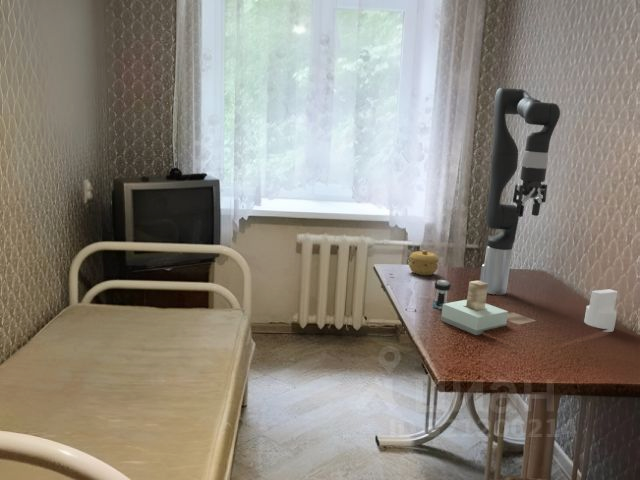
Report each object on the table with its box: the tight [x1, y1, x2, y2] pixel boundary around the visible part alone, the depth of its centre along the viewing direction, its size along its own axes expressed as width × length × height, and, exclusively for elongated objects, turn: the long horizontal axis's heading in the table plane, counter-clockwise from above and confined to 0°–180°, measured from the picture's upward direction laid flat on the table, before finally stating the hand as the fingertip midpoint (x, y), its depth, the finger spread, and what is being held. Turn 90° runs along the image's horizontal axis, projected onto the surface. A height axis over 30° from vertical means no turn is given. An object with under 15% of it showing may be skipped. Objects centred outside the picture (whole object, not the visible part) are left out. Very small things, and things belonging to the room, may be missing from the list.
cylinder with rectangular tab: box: [583, 288, 619, 333], centre depth 193 cm, size 9×9×12 cm
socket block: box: [440, 299, 509, 336], centre depth 187 cm, size 14×14×6 cm
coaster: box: [507, 311, 537, 326], centre depth 194 cm, size 9×9×1 cm
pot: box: [408, 249, 439, 276], centre depth 245 cm, size 12×12×10 cm
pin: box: [466, 280, 488, 311], centre depth 186 cm, size 4×4×12 cm
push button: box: [432, 279, 452, 310], centre depth 198 cm, size 7×5×10 cm
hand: (527, 216), depth 196 cm, fingers open, 8 cm apart
